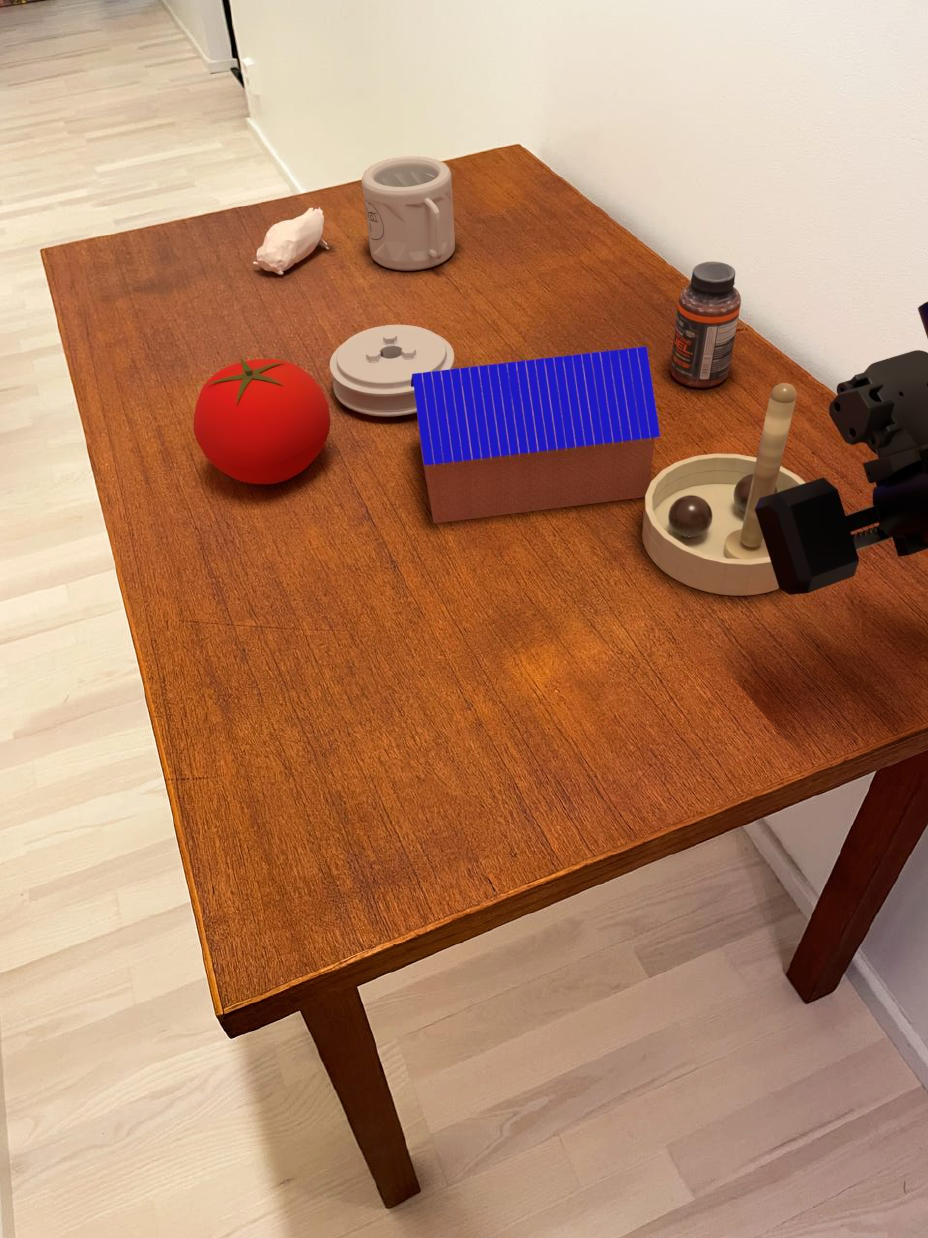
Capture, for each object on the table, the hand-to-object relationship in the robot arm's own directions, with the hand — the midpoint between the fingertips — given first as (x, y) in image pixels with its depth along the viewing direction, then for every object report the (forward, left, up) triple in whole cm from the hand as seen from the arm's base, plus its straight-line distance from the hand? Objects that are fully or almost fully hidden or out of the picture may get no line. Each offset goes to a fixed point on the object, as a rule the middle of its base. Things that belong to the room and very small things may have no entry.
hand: (822, 521), depth 67 cm
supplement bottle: (+33, -12, -10) cm, 37 cm away
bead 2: (+12, -4, -8) cm, 15 cm away
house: (+26, +10, -10) cm, 30 cm away
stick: (+7, -1, -9) cm, 12 cm away
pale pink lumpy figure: (+78, +18, -10) cm, 81 cm away
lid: (+45, +17, -10) cm, 49 cm away
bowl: (+10, -1, -10) cm, 15 cm away
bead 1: (+12, +2, -8) cm, 14 cm away
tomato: (+38, +32, -10) cm, 50 cm away
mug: (+72, +4, -10) cm, 73 cm away
